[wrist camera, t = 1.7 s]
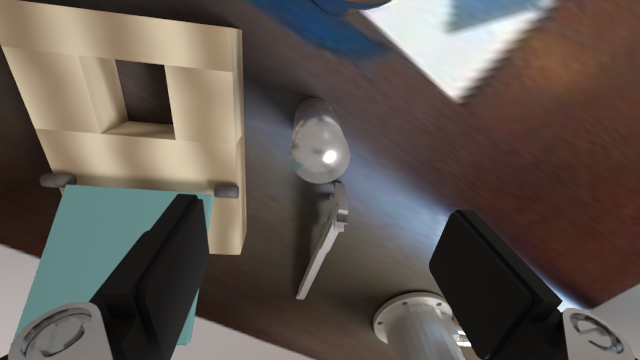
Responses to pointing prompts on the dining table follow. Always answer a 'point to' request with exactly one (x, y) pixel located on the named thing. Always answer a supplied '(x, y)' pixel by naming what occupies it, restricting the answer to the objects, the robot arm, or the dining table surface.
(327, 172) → the steel peg
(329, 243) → the caliper
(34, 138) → the dining table surface
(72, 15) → the wooden block
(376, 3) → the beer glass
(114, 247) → the latch flap
